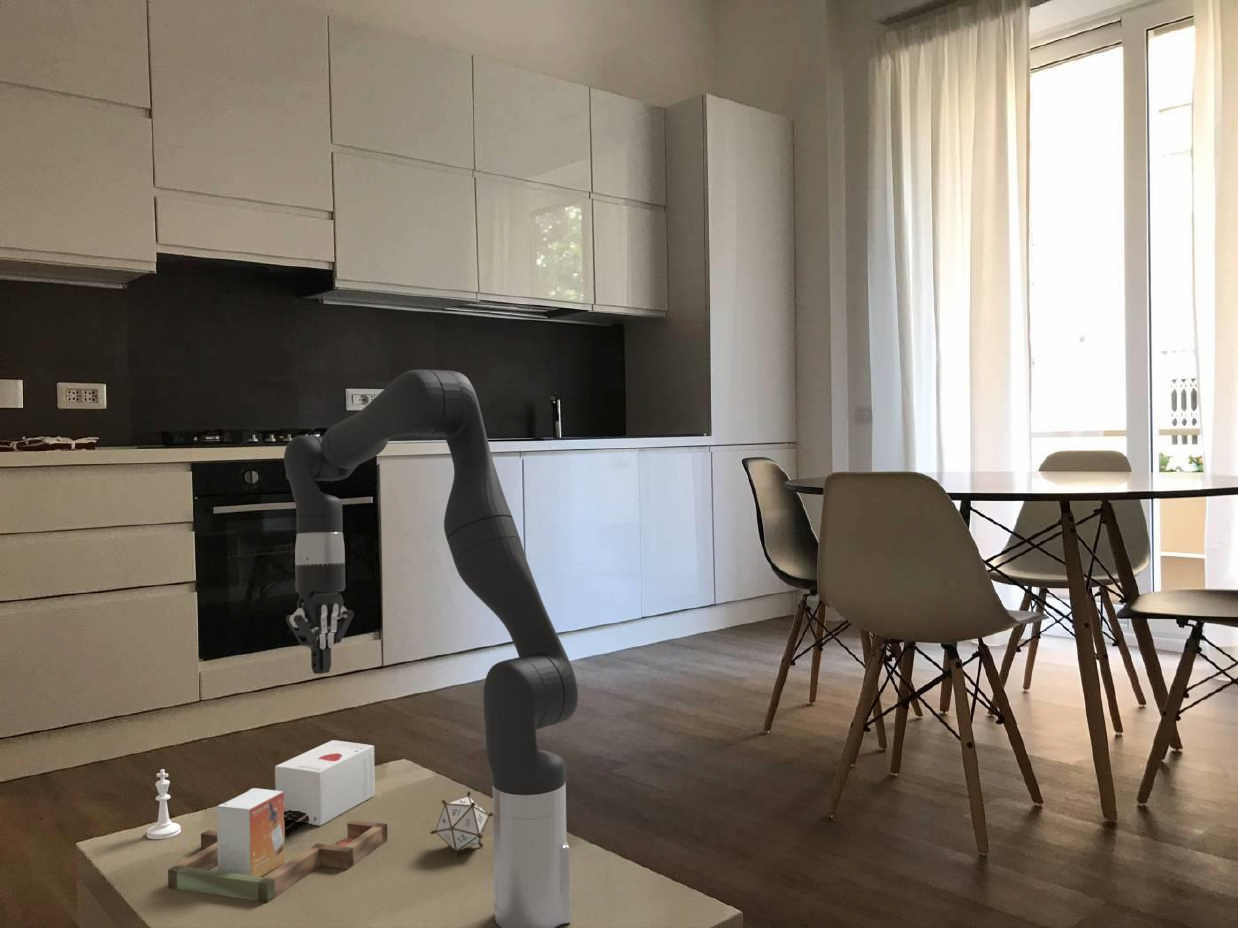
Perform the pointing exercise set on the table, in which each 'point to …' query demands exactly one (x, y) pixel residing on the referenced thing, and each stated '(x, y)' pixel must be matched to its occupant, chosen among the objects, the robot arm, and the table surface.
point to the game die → (462, 823)
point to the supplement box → (327, 780)
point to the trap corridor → (344, 855)
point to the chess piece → (163, 812)
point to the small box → (251, 833)
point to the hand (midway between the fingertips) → (321, 672)
